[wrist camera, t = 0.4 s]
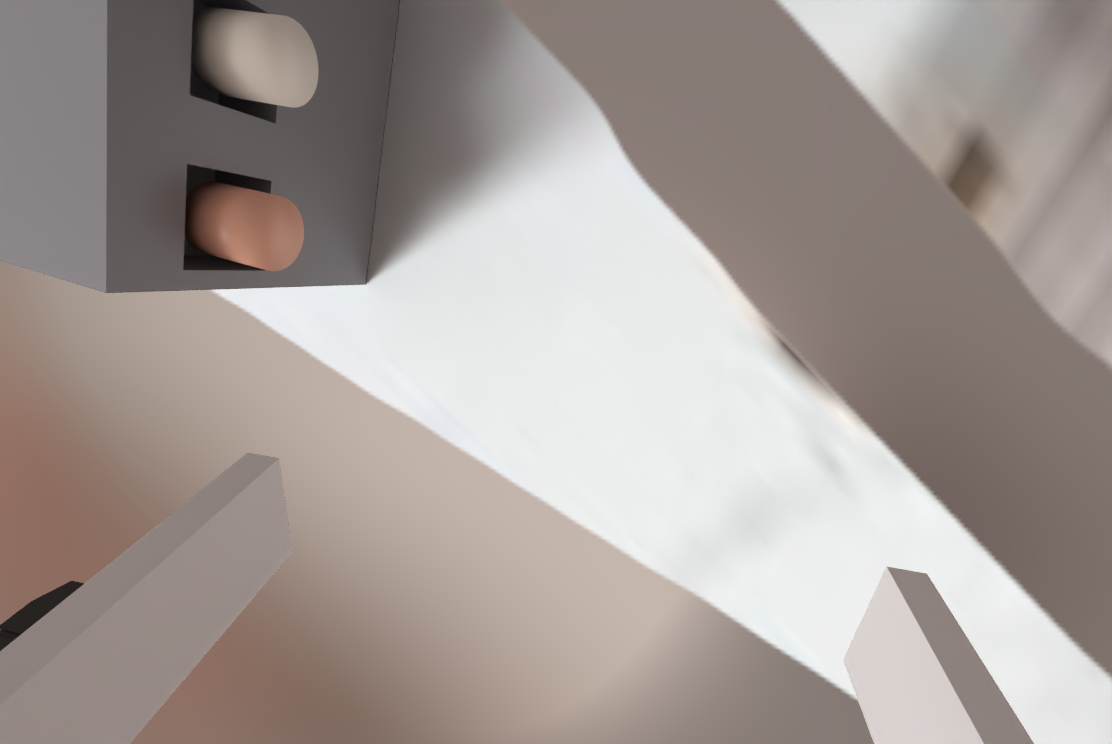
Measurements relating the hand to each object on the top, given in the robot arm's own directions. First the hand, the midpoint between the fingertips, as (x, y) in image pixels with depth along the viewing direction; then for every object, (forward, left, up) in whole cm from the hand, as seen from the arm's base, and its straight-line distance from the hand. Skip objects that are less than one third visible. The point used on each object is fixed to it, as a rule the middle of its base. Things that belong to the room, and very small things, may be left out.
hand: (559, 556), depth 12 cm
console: (-12, -27, -24) cm, 38 cm away
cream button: (-12, -22, -14) cm, 29 cm away
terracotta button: (-4, -22, -14) cm, 26 cm away
